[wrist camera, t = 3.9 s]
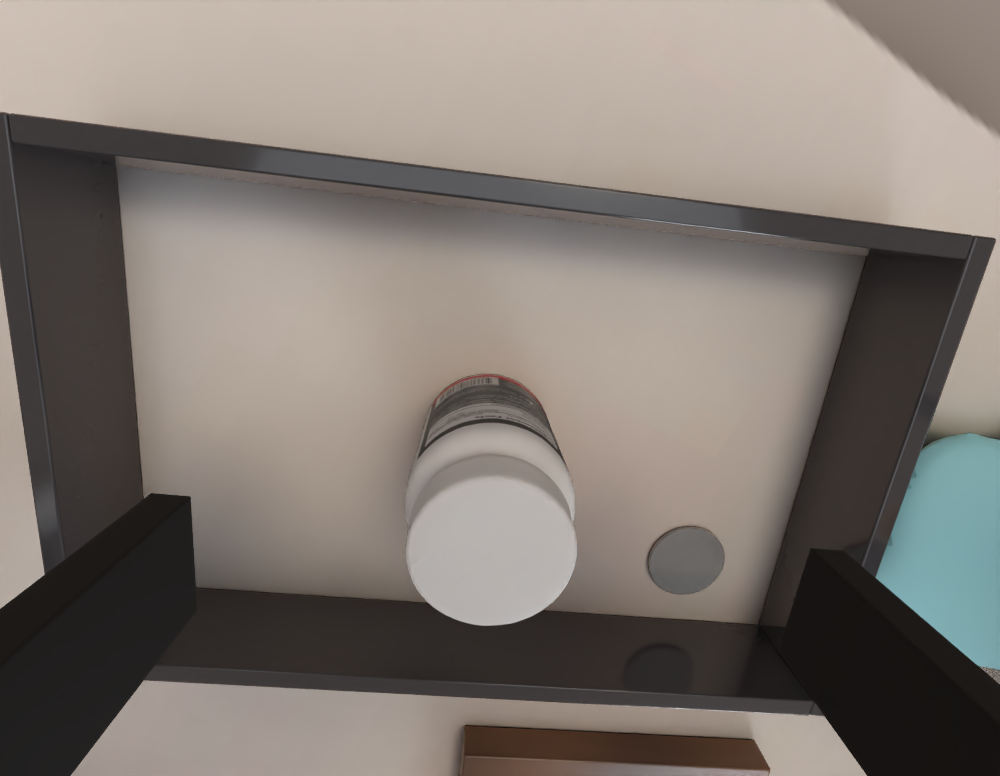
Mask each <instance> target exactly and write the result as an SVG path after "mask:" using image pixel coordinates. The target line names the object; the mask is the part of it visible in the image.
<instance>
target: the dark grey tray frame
mask: <svg viewBox="0 0 1000 776" xmlns="http://www.w3.org/2000/svg"><path fill="white" fill-rule="evenodd" d="M116 165H118V166H127V167H135V168H143V169H151V170H160V171H168V172H176V173H184V174H192V175H201V176H209V177H217V178H225V179H234V180H242V181H250V182H258V183H267V184H275V185H283V186H291V187H299V188H308V189H316V190H324V191H332V192H341V193H349V194H357V195H365V196H374V197H382V198H390V199H398V200H406V201H415V202H423V203H431V204H439V205H448V206H456V207H464V208H472V209H481V210H489V211H497V212H505V213H513V214H522V215H530V216H538V217H546V218H555V219H563V220H571V221H579V222H588V223H596V224H604V225H612V226H620V227H629V228H637V229H645V230H653V231H662V232H670V233H678V234H686V235H694V236H703V237H711V238H719V239H727V240H736V241H744V242H752V243H760V244H769V245H777V246H785V247H793V248H801V249H810V250H818V251H826V252H834V253H843V254H851V255H859V256H868V257H867V260H866V263H865V267H864V270H863V274H862V277H861V280H860V284H859V287H858V291H857V294H856V297H855V301H854V304H853V307H852V311H851V314H850V318H849V321H848V324H847V328H846V331H845V335H844V338H843V341H842V345H841V348H840V352H839V355H838V358H837V362H836V365H835V369H834V372H833V375H832V379H831V382H830V385H829V389H828V392H827V396H826V399H825V402H824V406H823V409H822V413H821V416H820V419H819V423H818V426H817V430H816V433H815V436H814V440H813V443H812V446H811V450H810V453H809V457H808V460H807V463H806V467H805V470H804V474H803V477H802V480H801V484H800V487H799V491H798V494H797V497H796V501H795V504H794V507H793V511H792V514H791V518H790V521H789V524H788V528H787V531H786V535H785V538H784V541H783V545H782V548H781V552H780V555H779V558H778V562H777V565H776V568H775V572H774V575H773V579H772V582H771V585H770V589H769V592H768V596H767V599H766V602H765V606H764V609H763V613H762V616H761V619H760V623H759V626H758V625H750V624H735V623H719V622H704V621H689V620H674V619H659V618H644V617H628V616H613V615H598V614H583V613H568V612H553V611H540V612H539V613H537V614H535V615H533V616H531V617H529V618H526V619H523V620H521V621H518V622H515V623H511V624H504V625H492V626H481V625H474V624H469V623H465V622H462V621H458V620H456V619H453V618H451V617H449V616H446V615H445V614H443V613H441V612H440V611H438V610H437V609H435V608H434V607H432V606H431V605H430V604H429V603H416V602H401V601H386V600H371V599H355V598H340V597H325V596H310V595H295V594H280V593H264V592H249V591H234V590H219V589H204V588H196V601H197V612H196V613H195V614H194V615H193V617H192V618H191V619H190V621H189V622H188V623H187V625H186V626H185V627H184V628H183V630H182V631H181V632H180V634H179V635H178V636H177V638H176V639H175V640H174V641H173V643H172V644H171V645H170V647H169V648H168V649H167V651H166V652H165V653H164V654H163V656H162V657H161V658H160V660H159V661H158V662H157V664H156V665H155V666H154V667H153V669H152V670H151V671H150V673H149V674H148V675H147V677H146V678H145V679H144V680H149V681H167V682H186V683H205V684H224V685H243V686H261V687H280V688H299V689H318V690H337V691H356V692H374V693H393V694H412V695H431V696H450V697H468V698H487V699H506V700H525V701H544V702H562V703H581V704H600V705H619V706H638V707H657V708H675V709H694V710H713V711H732V712H751V713H769V714H788V715H807V716H808V715H809V714H810V715H815V716H824V715H823V713H822V712H821V710H820V709H819V708H818V706H817V705H816V704H815V702H814V701H813V699H812V698H811V697H810V695H809V694H808V692H807V691H806V690H805V688H804V687H803V685H802V684H801V683H800V681H799V680H798V678H797V677H796V676H795V674H794V673H793V671H792V670H791V669H790V667H789V666H788V665H787V663H786V662H785V660H784V659H783V658H782V656H781V655H780V653H779V652H778V649H779V646H780V643H781V640H782V637H783V634H784V630H785V627H786V624H787V621H788V618H789V615H790V611H791V608H792V605H793V602H794V599H795V596H796V593H797V589H798V586H799V583H800V580H801V577H802V574H803V570H804V567H805V564H806V561H807V558H808V555H809V552H810V548H817V549H829V550H841V551H845V552H846V553H847V554H848V555H850V556H851V557H852V558H853V559H854V560H855V561H857V562H858V563H859V564H860V565H861V566H862V567H864V568H865V569H866V570H867V571H868V572H869V573H871V574H872V575H873V576H874V577H875V578H876V575H877V573H878V570H879V567H880V564H881V561H882V559H883V556H884V553H885V550H886V547H887V545H888V542H889V539H890V536H891V533H892V531H893V528H894V525H895V522H896V519H897V517H898V514H899V511H900V508H901V505H902V503H903V500H904V497H905V494H906V491H907V489H908V486H909V483H910V480H911V477H912V475H913V472H914V469H915V466H916V463H917V461H918V458H919V455H920V452H921V449H922V447H923V444H924V441H925V438H926V435H927V433H928V430H929V427H930V424H931V421H932V419H933V416H934V413H935V410H936V407H937V405H938V402H939V399H940V396H941V393H942V391H943V388H944V385H945V382H946V379H947V377H948V374H949V371H950V368H951V365H952V363H953V360H954V357H955V354H956V351H957V349H958V346H959V343H960V340H961V337H962V335H963V332H964V329H965V326H966V323H967V321H968V318H969V315H970V312H971V309H972V307H973V304H974V301H975V298H976V295H977V293H978V290H979V287H980V284H981V281H982V279H983V276H984V273H985V270H986V267H987V265H988V262H989V259H990V256H991V253H992V251H993V248H994V245H995V242H996V239H995V238H992V237H984V236H972V235H968V234H960V233H953V232H945V231H937V230H929V229H921V228H913V227H905V226H897V225H889V224H881V223H874V222H866V221H858V220H850V219H842V218H834V217H826V216H818V215H810V214H803V213H795V212H787V211H779V210H771V209H763V208H755V207H747V206H739V205H731V204H724V203H716V202H708V201H700V200H692V199H684V198H676V197H668V196H660V195H652V194H645V193H637V192H629V191H621V190H613V189H605V188H597V187H589V186H581V185H574V184H566V183H558V182H550V181H542V180H534V179H526V178H518V177H510V176H502V175H495V174H487V173H479V172H471V171H463V170H455V169H447V168H439V167H431V166H424V165H416V164H408V163H400V162H392V161H384V160H376V159H368V158H360V157H352V156H345V155H337V154H329V153H321V152H313V151H305V150H297V149H289V148H281V147H273V146H266V145H258V144H250V143H242V142H234V141H226V140H218V139H210V138H202V137H195V136H187V135H179V134H171V133H163V132H155V131H147V130H139V129H131V128H123V127H116V126H108V125H100V124H92V123H84V122H76V121H68V120H60V119H52V118H44V117H37V116H29V115H21V114H13V113H12V114H9V113H5V112H0V268H1V275H2V281H3V288H4V295H5V302H6V309H7V316H8V323H9V330H10V337H11V344H12V351H13V358H14V365H15V372H16V378H17V385H18V392H19V399H20V406H21V413H22V420H23V427H24V434H25V441H26V448H27V455H28V462H29V469H30V475H31V482H32V489H33V496H34V503H35V510H36V517H37V524H38V531H39V538H40V545H41V552H42V559H43V566H44V573H45V574H47V573H48V572H49V571H51V570H52V569H53V568H54V567H56V566H57V565H58V564H60V563H61V562H62V561H64V560H65V559H66V558H67V557H69V556H70V555H71V554H73V553H74V552H75V551H77V550H78V549H79V548H81V547H82V546H83V545H84V544H86V543H87V542H88V541H90V540H91V539H92V538H94V537H95V536H96V535H97V534H99V533H100V532H101V531H103V530H104V529H105V528H107V527H108V526H109V525H111V524H112V523H113V522H114V521H116V520H117V519H118V518H120V517H121V516H122V515H124V514H125V513H126V512H127V511H129V510H130V509H131V508H133V507H134V506H135V505H137V504H138V503H139V502H141V501H142V500H143V494H142V481H141V469H140V457H139V445H138V432H137V420H136V408H135V395H134V383H133V371H132V359H131V346H130V334H129V322H128V309H127V297H126V285H125V273H124V260H123V248H122V236H121V224H120V211H119V199H118V187H117V174H116ZM723 564H724V550H723V547H722V545H721V543H720V542H719V540H718V539H717V538H716V537H715V536H714V535H713V534H712V533H711V532H709V531H707V530H705V529H703V528H699V527H693V526H687V527H681V528H677V529H674V530H672V531H670V532H668V533H666V534H665V535H663V536H662V537H661V538H660V539H659V540H658V541H657V542H656V543H655V544H654V546H653V548H652V550H651V552H650V555H649V559H648V568H649V572H650V575H651V577H652V578H653V580H654V582H655V583H656V584H657V585H658V586H659V587H660V588H662V589H663V590H665V591H667V592H670V593H673V594H691V593H695V592H698V591H700V590H703V589H704V588H706V587H708V586H709V585H710V584H711V583H713V582H714V581H715V579H716V578H717V577H718V576H719V574H720V572H721V570H722V568H723Z"/></svg>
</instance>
